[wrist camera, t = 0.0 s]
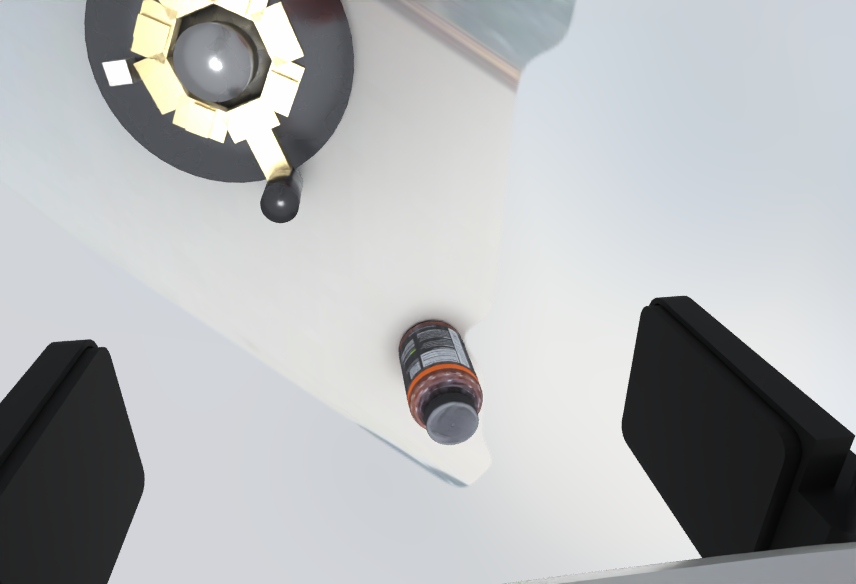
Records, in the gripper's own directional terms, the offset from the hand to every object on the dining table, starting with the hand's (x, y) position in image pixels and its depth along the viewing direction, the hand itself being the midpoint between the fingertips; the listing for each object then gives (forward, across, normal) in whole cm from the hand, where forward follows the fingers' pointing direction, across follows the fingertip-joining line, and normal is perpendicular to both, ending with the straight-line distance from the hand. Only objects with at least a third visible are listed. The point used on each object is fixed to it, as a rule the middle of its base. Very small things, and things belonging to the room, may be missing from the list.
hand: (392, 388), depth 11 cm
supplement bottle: (+37, -6, +22) cm, 44 cm away
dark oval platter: (+37, +8, -3) cm, 38 cm away
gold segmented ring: (+34, +7, 0) cm, 35 cm away
